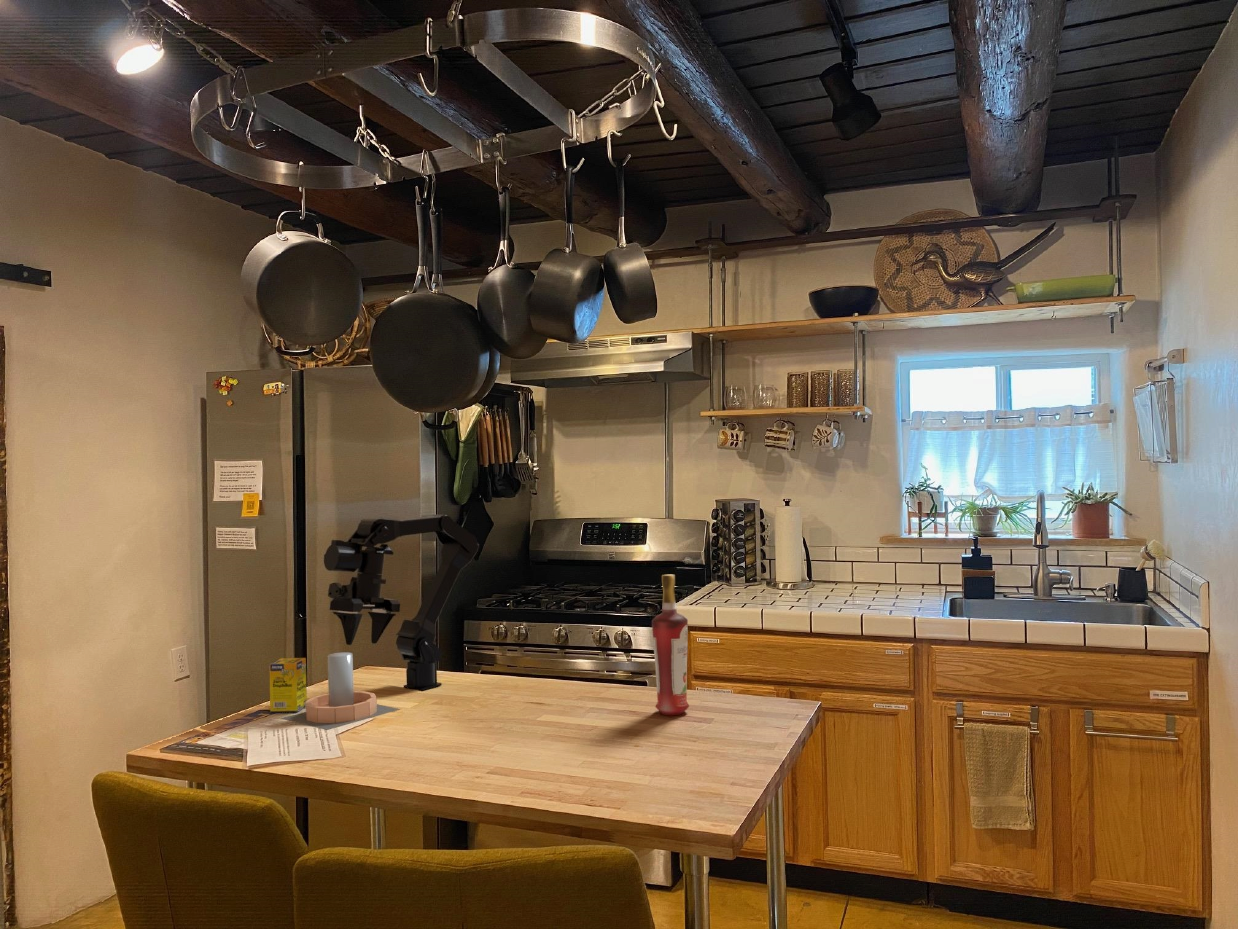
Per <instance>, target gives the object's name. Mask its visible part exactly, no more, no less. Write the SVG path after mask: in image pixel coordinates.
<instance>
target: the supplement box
mask: <svg viewBox="0 0 1238 929" xmlns="http://www.w3.org/2000/svg"><path fill="white" fill-rule="evenodd" d="M268 668H269V670H268V671H269V706H270V707H269V709H270V710H269V711H270V714H271V715H272V714H299V712H301V710H303V709H306V708H305V701H307V700H308V698H307V697H308V692H307V690H308V689H307V658H306V657H293V658H291V657H290V658H289V657H286V658H285V657H284V658H282V657H281V658H279V659H278V660H276V661H274V662H271V663H269V666H268Z"/></svg>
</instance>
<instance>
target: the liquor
mask: <svg viewBox="0 0 1238 929" xmlns="http://www.w3.org/2000/svg"><path fill="white" fill-rule="evenodd" d="M661 584H662V590H663V591H662V592H663V593H662V610H661V611H662V612H661V613H660V614H658V615H656V616H655V617H654V618H652V620H651V628H652V629H651V630H652V642H653V644H652V645H653V654H654V664H655V680H656V681H655V682H656V693H657V694H656V695H657V697H656V698H657V699H656V700H657V702H656V703H655V706H654V707H655V708H656V709H657V711H659V712H660V714H662V715H663V716H664V715H665V716H668V717H670V716H671V717H672V716H673V717H674V716H681V715H682V714H684V713H685V712H686V711H687V710H688V709H689V708H690V704H689V703H688V697H687V696H688V692H687V690H688V688H687V684H688V682H687V679H688V676H687V675H688V672H687V671H688V670H687V669H688V665H687V664H688V625H689V623H688V618H686V617H685V616H684V615H682V614H680V613H678V612H677V604H676V596H675V595H676V594H675V587H676V574H662V575H661Z"/></svg>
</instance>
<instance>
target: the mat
mask: <svg viewBox="0 0 1238 929" xmlns="http://www.w3.org/2000/svg"><path fill="white" fill-rule="evenodd" d="M399 710H401V709H400V708H398V707H397V708H396V707H392V706H388V705H383V704H379V703H377V712H375V713H374V714H372V715H371V716H369V717H365V718H362V719H358V720H354V721H347V722H339V723H316V722H312V721H308V720H307V719H306V711H304V712H300V713H299V712H298V713H294V714H292V715H288V716H284V717H281V718H280V719H283V720H287V721H288V722H289V721H290V722H295V723H297V724H302V725H306V726H310V727H312V728H313V727H314V728H317V729H322V730H325V731H330V730H333V729H335V728H339V727H342V726H346V725H350V724H354V723H357V722H361V721H364V720H367V719H371V718H376V717H378V716H382V715H385V714H389V713H392V712H397V711H399Z"/></svg>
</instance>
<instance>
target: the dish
mask: <svg viewBox="0 0 1238 929" xmlns="http://www.w3.org/2000/svg"><path fill="white" fill-rule="evenodd" d="M377 700H378V699H377V696H376V694H375V693H374V692H369V691H364V690H354V704H353V705H347V706H338V707H329V692H328V693H325V694H320V695H317V696H316V695H315V696H313V697H311V698H309V699H307V701H305V708H304V709H305V712H306V719H307V720H308V721H312V722H316V723H339V722H347V721H354V720H358V719H362V718H365V717H369V716H371V715H372V714H374V713H375V712H377V704H378V703H377Z"/></svg>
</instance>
